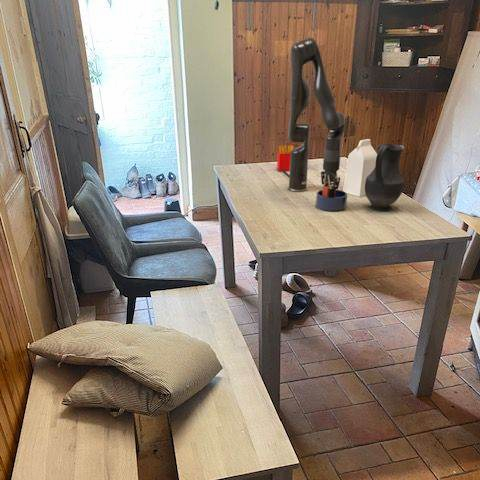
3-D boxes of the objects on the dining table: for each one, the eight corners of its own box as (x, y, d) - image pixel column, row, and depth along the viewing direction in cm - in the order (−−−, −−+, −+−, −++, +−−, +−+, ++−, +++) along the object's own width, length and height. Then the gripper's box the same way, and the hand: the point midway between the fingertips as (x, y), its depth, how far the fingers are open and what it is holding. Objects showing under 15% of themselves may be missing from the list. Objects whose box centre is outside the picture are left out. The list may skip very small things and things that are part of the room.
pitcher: (404, 206, 238) (415, 141, 222) (389, 218, 223) (400, 149, 208) (370, 200, 246) (378, 137, 231) (353, 212, 231) (360, 145, 216)
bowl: (310, 204, 241) (311, 191, 238) (335, 201, 246) (336, 188, 243) (325, 213, 230) (327, 199, 227) (351, 209, 235) (353, 195, 231)
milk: (359, 196, 252) (365, 143, 239) (342, 191, 260) (348, 139, 247) (375, 192, 258) (382, 140, 245) (358, 187, 266) (364, 136, 253)
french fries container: (276, 168, 302) (277, 144, 295) (291, 168, 303) (292, 144, 296) (279, 171, 296) (280, 147, 289) (294, 171, 297) (295, 146, 290)
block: (322, 195, 238) (322, 186, 235) (330, 194, 239) (331, 185, 237) (326, 198, 234) (327, 188, 232) (335, 197, 235) (336, 187, 233)
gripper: (316, 156, 232) (314, 192, 241) (332, 163, 221) (329, 201, 229) (330, 155, 235) (327, 191, 243) (347, 161, 223) (343, 199, 232)
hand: (328, 195), depth 236 cm, fingers closed on block, 4 cm apart
